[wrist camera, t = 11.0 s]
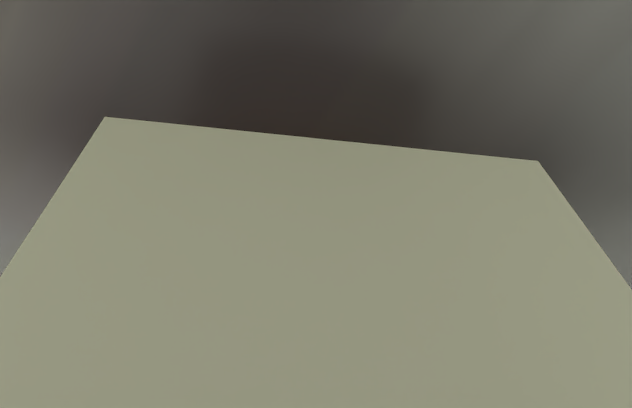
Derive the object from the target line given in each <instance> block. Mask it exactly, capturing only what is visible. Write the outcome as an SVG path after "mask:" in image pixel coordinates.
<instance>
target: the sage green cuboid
mask: <svg viewBox="0 0 632 408" xmlns="http://www.w3.org/2000/svg"><path fill="white" fill-rule="evenodd" d="M0 408H632V290H631V288H630V287H629V285H628V284H627V283H626V281H625V280H624V279H623V277H622V276H621V274H620V273H619V272H618V270H617V269H616V268H615V266H614V265H613V263H612V262H611V261H610V259H609V258H608V257H607V255H606V254H605V252H604V251H603V250H602V248H601V247H600V246H599V244H598V243H597V241H596V240H595V239H594V237H593V236H592V235H591V233H590V232H589V230H588V229H587V228H586V226H585V225H584V224H583V222H582V221H581V219H580V218H579V217H578V215H577V214H576V213H575V211H574V210H573V208H572V207H571V206H570V204H569V203H568V201H567V200H566V199H565V197H564V196H563V195H562V193H561V192H560V190H559V189H558V188H557V186H556V185H555V184H554V182H553V181H552V179H551V178H550V177H549V175H548V174H547V173H546V171H545V170H544V168H543V167H542V166H541V164H540V163H539V162H538V161H533V160H523V159H513V158H503V157H494V156H484V155H474V154H464V153H454V152H445V151H435V150H425V149H415V148H406V147H396V146H386V145H376V144H366V143H357V142H347V141H337V140H327V139H318V138H308V137H298V136H288V135H278V134H269V133H259V132H249V131H239V130H230V129H220V128H210V127H200V126H190V125H181V124H171V123H161V122H151V121H142V120H132V119H122V118H112V117H104V119H103V120H102V122H101V123H100V125H99V126H98V128H97V129H96V131H95V132H94V134H93V136H92V137H91V139H90V140H89V142H88V143H87V145H86V146H85V148H84V149H83V151H82V152H81V154H80V155H79V157H78V159H77V160H76V162H75V163H74V165H73V166H72V168H71V169H70V171H69V172H68V174H67V175H66V177H65V178H64V180H63V182H62V183H61V185H60V186H59V188H58V189H57V191H56V192H55V194H54V195H53V197H52V198H51V200H50V201H49V203H48V205H47V206H46V208H45V209H44V211H43V212H42V214H41V215H40V217H39V218H38V220H37V221H36V223H35V224H34V226H33V228H32V229H31V231H30V232H29V234H28V235H27V237H26V238H25V240H24V241H23V243H22V244H21V246H20V247H19V249H18V251H17V252H16V254H15V255H14V257H13V258H12V260H11V261H10V263H9V264H8V266H7V267H6V269H5V270H4V272H3V274H2V275H1V277H0Z"/></svg>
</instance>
